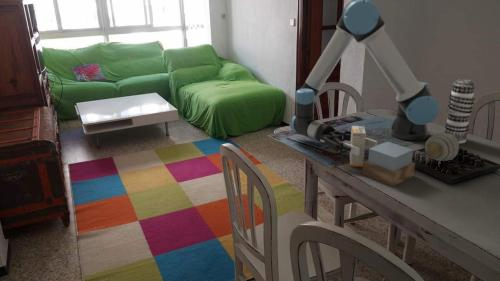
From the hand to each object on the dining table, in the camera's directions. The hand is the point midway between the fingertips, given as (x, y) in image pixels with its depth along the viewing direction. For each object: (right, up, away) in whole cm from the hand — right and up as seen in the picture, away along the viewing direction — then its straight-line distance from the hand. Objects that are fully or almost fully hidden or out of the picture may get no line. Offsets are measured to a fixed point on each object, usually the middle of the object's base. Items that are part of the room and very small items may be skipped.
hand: (367, 148), depth 135 cm
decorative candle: (+43, +3, +23) cm, 49 cm away
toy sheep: (+28, -5, +3) cm, 28 cm away
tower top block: (+5, -5, -6) cm, 10 cm away
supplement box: (-2, -5, +6) cm, 9 cm away
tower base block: (+6, -9, -4) cm, 12 cm away
